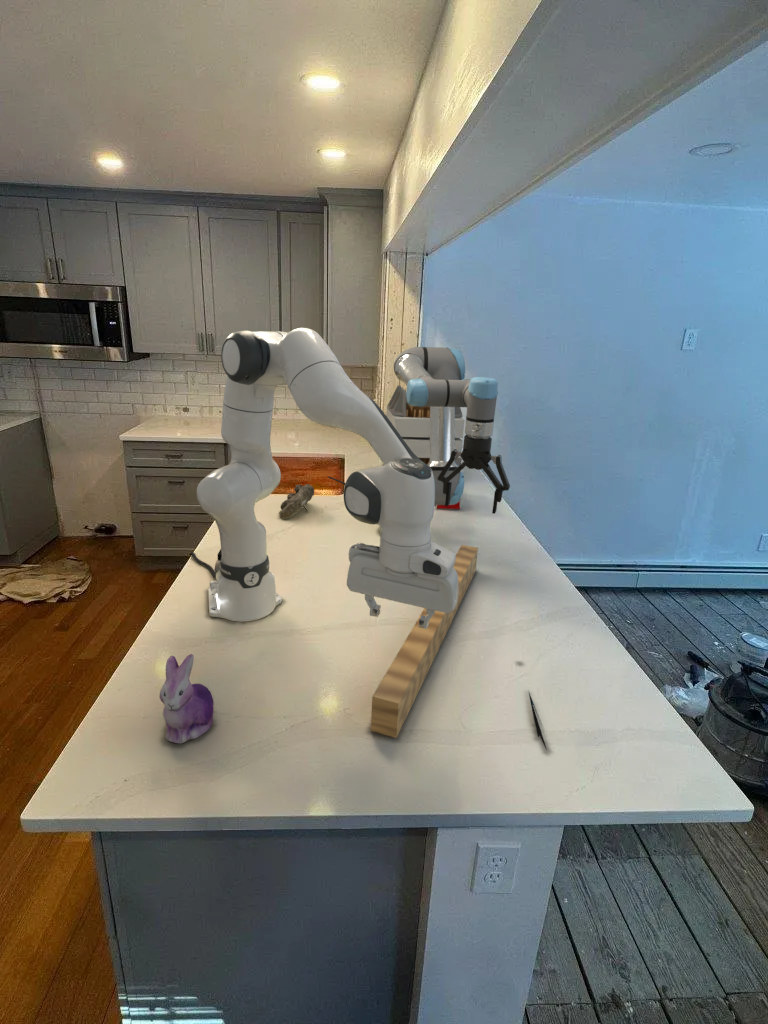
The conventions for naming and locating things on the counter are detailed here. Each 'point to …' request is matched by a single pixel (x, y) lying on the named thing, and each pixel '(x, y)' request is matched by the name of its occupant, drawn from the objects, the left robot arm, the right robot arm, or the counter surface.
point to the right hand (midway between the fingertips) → (470, 508)
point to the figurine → (185, 702)
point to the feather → (536, 721)
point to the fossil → (296, 500)
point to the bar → (417, 657)
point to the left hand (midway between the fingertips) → (398, 620)
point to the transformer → (418, 425)
